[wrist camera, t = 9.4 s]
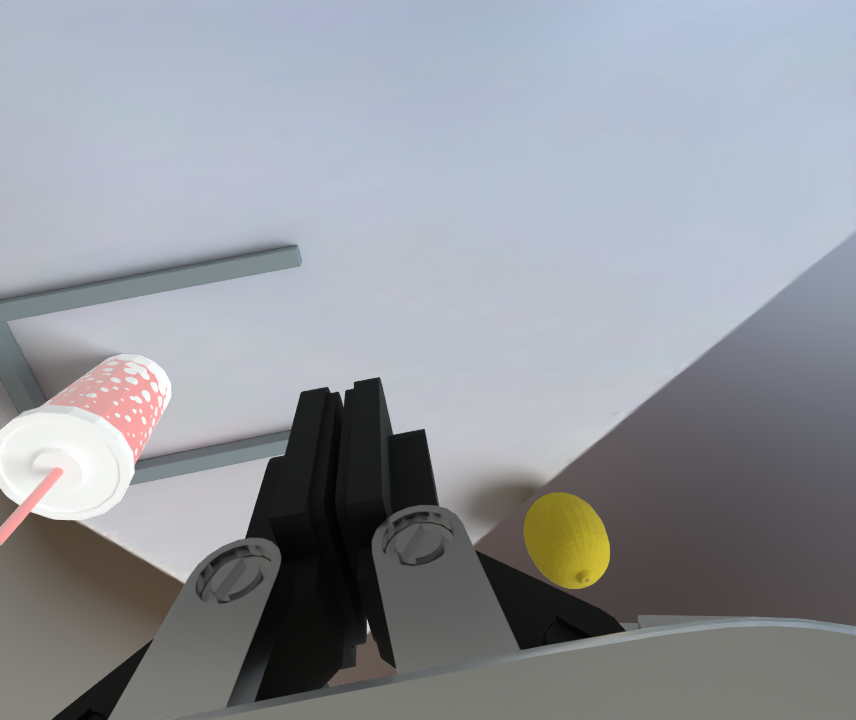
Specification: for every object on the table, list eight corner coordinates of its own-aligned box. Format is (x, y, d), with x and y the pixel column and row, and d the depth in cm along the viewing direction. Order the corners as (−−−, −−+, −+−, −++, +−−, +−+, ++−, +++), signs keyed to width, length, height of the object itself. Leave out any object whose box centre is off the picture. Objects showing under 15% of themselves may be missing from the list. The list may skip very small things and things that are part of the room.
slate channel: (297, 245, 31) (295, 249, 30) (346, 432, 37) (346, 441, 36) (-23, 304, 31) (-37, 310, 29) (74, 487, 36) (65, 498, 35)
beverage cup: (143, 324, 32) (1, 450, 19) (204, 403, 35) (114, 561, 22) (57, 369, 33) (-138, 522, 20) (123, 444, 35) (-12, 622, 22)
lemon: (594, 501, 42) (644, 579, 34) (537, 541, 43) (574, 626, 35) (555, 458, 40) (600, 531, 32) (497, 501, 41) (527, 582, 33)
